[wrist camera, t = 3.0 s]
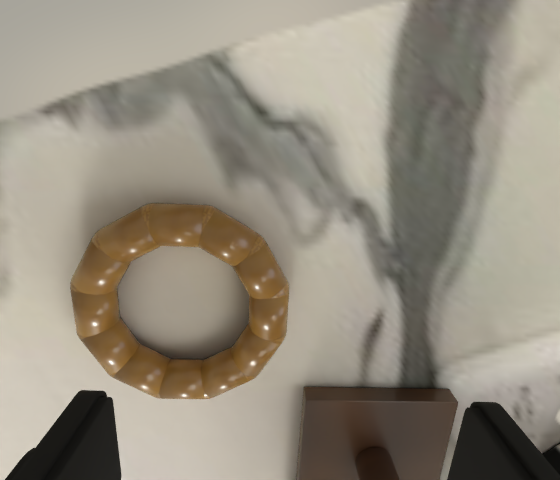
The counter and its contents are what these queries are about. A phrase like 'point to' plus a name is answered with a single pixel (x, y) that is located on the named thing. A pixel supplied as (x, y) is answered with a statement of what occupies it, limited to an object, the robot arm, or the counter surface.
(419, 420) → the stand
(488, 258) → the counter surface
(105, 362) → the ring
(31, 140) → the counter surface
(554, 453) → the white-spotted black cylinder
